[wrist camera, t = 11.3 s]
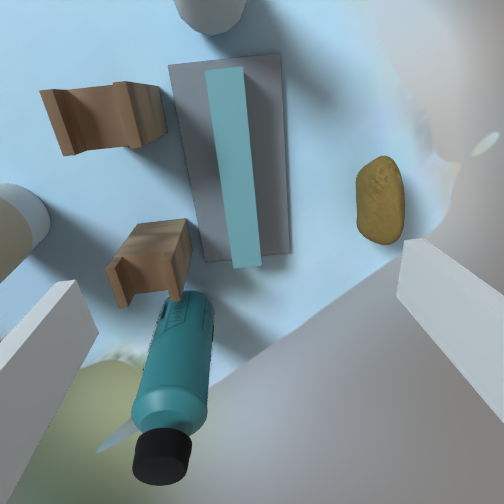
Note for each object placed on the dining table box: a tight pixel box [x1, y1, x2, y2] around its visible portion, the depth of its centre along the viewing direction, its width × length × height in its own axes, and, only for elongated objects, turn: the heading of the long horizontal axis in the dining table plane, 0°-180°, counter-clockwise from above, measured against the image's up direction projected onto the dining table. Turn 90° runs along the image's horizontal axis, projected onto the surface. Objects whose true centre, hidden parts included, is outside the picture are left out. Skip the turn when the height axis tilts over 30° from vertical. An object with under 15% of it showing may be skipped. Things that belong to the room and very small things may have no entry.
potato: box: [356, 156, 405, 245], centre depth 31 cm, size 7×8×8 cm
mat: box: [168, 53, 290, 262], centre depth 32 cm, size 10×20×1 cm, turn 6°
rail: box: [205, 66, 262, 269], centre depth 30 cm, size 3×18×4 cm, turn 5°
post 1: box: [39, 81, 168, 156], centre depth 25 cm, size 5×4×10 cm
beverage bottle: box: [131, 291, 215, 486], centre depth 30 cm, size 6×7×20 cm
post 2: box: [105, 218, 193, 308], centre depth 30 cm, size 5×4×10 cm
